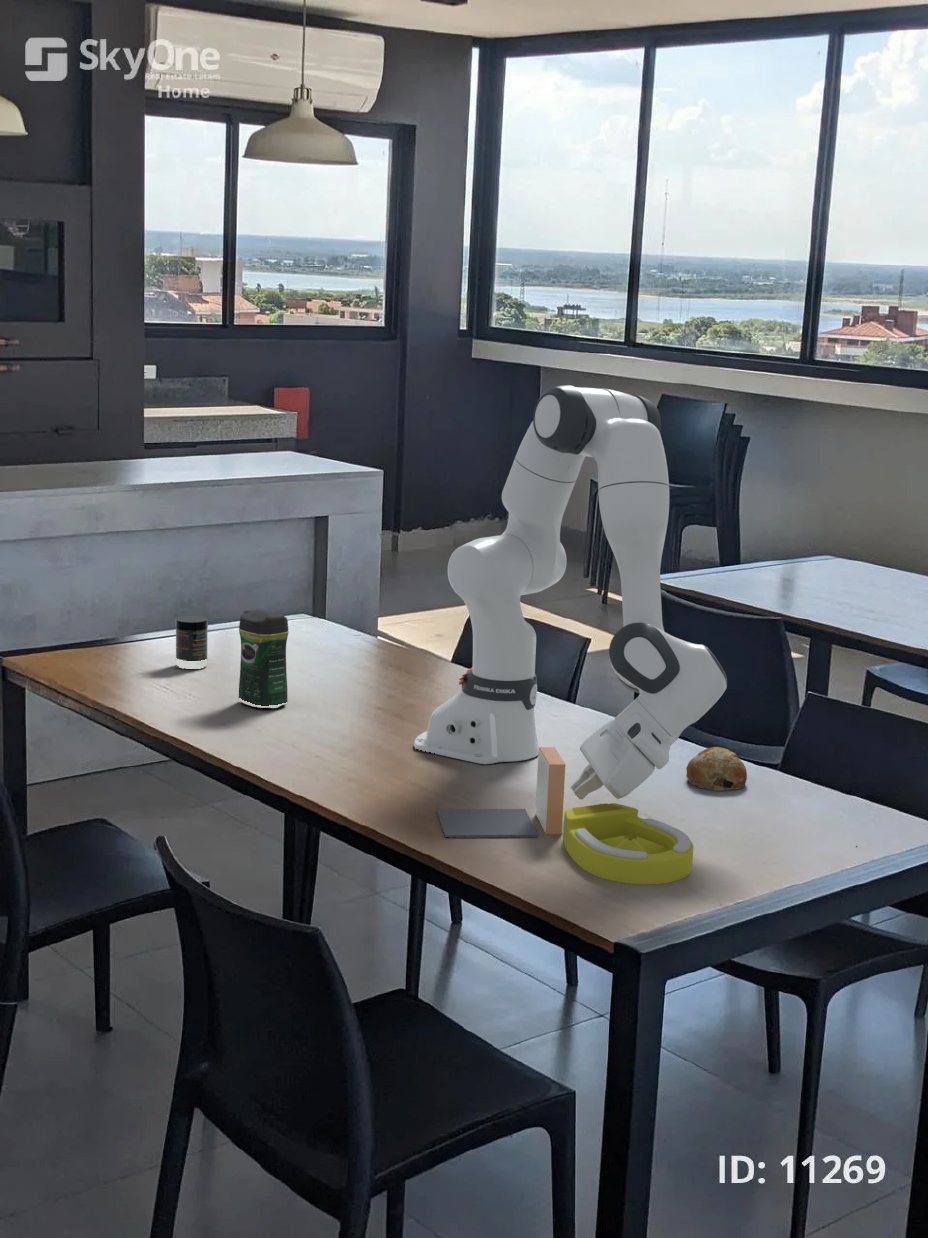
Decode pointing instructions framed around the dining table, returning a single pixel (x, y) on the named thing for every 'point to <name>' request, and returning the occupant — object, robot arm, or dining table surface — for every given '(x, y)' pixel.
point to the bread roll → (717, 770)
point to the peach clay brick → (550, 790)
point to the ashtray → (626, 845)
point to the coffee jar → (263, 657)
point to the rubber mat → (486, 823)
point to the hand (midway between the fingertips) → (575, 793)
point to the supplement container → (191, 638)
